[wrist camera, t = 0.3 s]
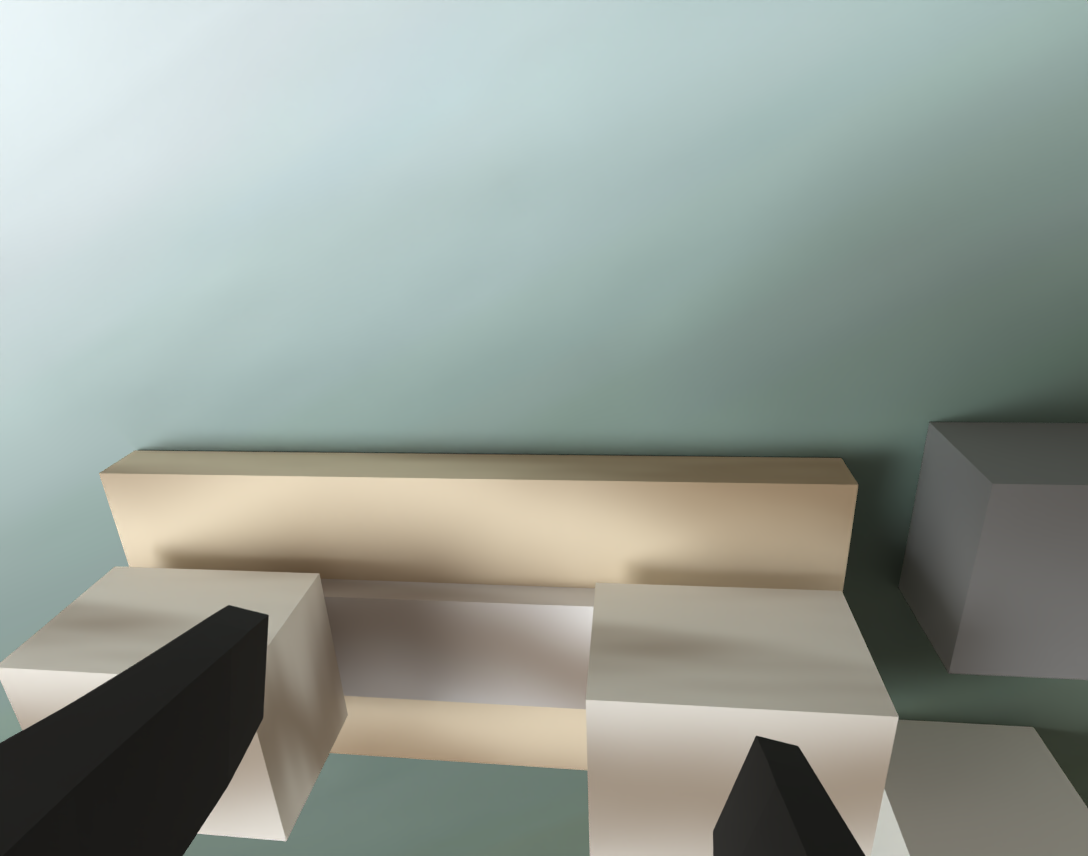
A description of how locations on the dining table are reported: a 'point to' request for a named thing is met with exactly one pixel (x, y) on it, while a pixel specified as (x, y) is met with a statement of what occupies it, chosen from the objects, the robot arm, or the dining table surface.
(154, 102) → the dining table surface
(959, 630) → the box
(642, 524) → the board
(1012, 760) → the block
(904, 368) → the dining table surface
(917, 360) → the dining table surface
